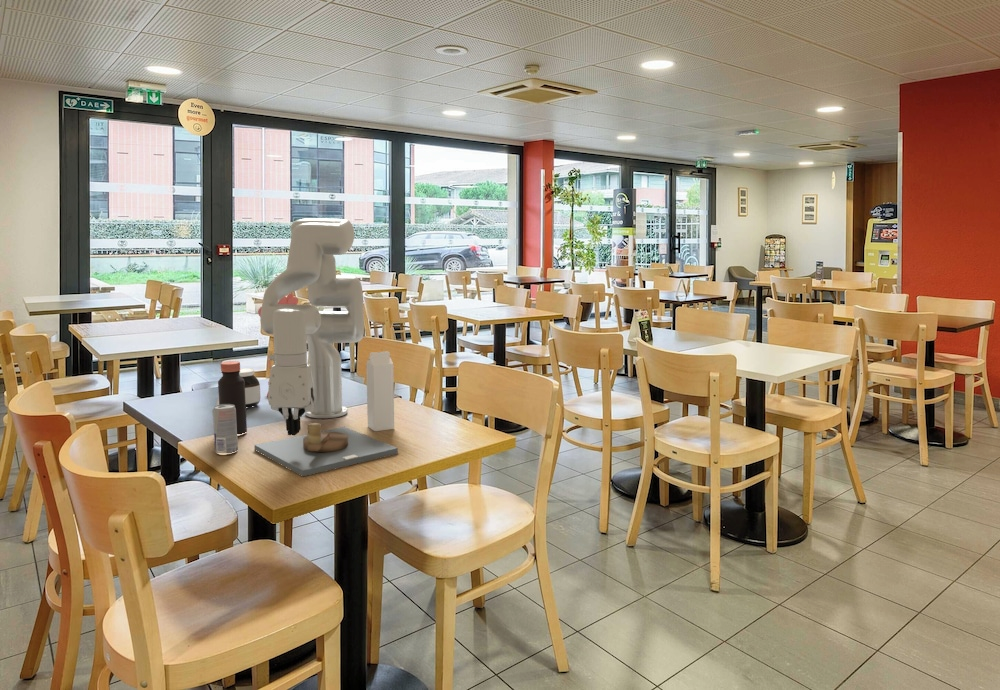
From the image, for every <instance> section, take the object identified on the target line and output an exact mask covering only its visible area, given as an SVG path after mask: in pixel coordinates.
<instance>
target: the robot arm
mask: <svg viewBox="0 0 1000 690" xmlns="http://www.w3.org/2000/svg"><path fill="white" fill-rule="evenodd" d="M290 225H291V226H290V232H291V233H290V234H291V237H290V238H291V239H290V244H289V250H288V258H287V264H286V269H285V270H283V271H282V272H281V273H280V274H279V275H277V276H276V277H275V278H274V279H273V280H272V281H271V282H270V283H269V285H268V286H267V288H266V290H265V291H264V293H263V296H262V303H261V307H262V308H261V316H259V319H260V326H261V329H262V331H264V332H265V334H268V335H271V336H272V335H273V353H272V354H269V356H268V360H269V359H270V361H273V365H271V370H270V371H269V379H268V382H269V385H268V392H267V393H268V396H267V397H268V398H267V399H268V404H269V406H270V409H271V410H273V411H275V412H279V413H280V414H281V415H282V416H283V418H284V420H285V428H286V429H285V430H286V431H287V436H293V437H296V436H297V434H299V433H300V431H301V417H302V416H303V415H304V414H305V416H307V417H309V418H312V419H333V418H334V419H335V418H338V417H342V416H343V417H344V416H345V415H347V414H348V411H349V410H348V408H347V407H346V406H343V386H342V382H343V381H342V357H341V354H340V352H339V350H338V349H337V348H336V347H335V345H334V344H336V343H337V344H343V343H344V344H345V343H346V344H350V343H351V344H355V343H359V342H360V341H361V340H363V338H364V335H365V334H364V333H365V317H364V316H365V315H364V293H363V286H362V283H361V280H360V279H359V278H358V277H356V276H353V275H338V274H337V267H336V266H337V265H336V264H337V263H336V258H335V257H336V256H334V255H338V256H340V255H344V254H346V253H347V252H348V251H349V250H350V249H351V248H352V247H353V243H354V242H355V240H354V239H355V229H354V226H353V224H352V222H351V221H350V220H348V219H345V218H344V219H342V218H341V219H340V218H302V219H301V218H300V219H295V220H294V221H293V222H292V223H291V224H290ZM306 287H307V289H306V290H307V291H306V292H307V298H308V301H309V304H297V305H295V304H278V302H279V301H280V300H281V299H282V298H283V297H284V296H286V297H287V296H288V295H289V294H290V293H293V292H296V291H298V290H300V289H303V288H306ZM318 308H344V309H346V310H347V311H344V310H342V311H337V310H331V311H330V310H322V311H321V310H320V311H319V309H318ZM307 351H308V352H307Z"/></svg>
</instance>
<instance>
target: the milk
mask: <svg viewBox="0 0 1000 690" xmlns="http://www.w3.org/2000/svg"><path fill="white" fill-rule="evenodd" d="M390 356H391V352H390V351H376V352H375V351H374V352H369V358H368V360H367V361H366V362H365V363H366V405H367V407H366V410H367V411H366V412H367V414H366V415H367V427H368V428H369V429H371V430H372V431H373V432H381V431H388V430H395V390H394V389H395V387H394V386H395V385H394V383H395V382H394V379H395V378H394V362H393V360H392V358H391V357H390Z"/></svg>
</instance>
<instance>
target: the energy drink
mask: <svg viewBox="0 0 1000 690" xmlns="http://www.w3.org/2000/svg"><path fill="white" fill-rule="evenodd" d="M212 419H213V437H214V453H215V452H217V453H232V452H235V451H237V450H239V449H238V448H239V447H238V436H237V423H236V408H235V405H233V404H221V405H217V404H216V405H213V409H212ZM237 452H238V451H237Z"/></svg>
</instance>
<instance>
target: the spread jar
mask: <svg viewBox="0 0 1000 690" xmlns="http://www.w3.org/2000/svg"><path fill="white" fill-rule="evenodd" d="M239 375H240V376H241V377H242V378H243V379H244V381H245V402H246V407H252V406H255V407H256V406H258V405H259V403H260V402H261V383H260V381H259V379H258V378H257V377H256V376H255V369H253V368H240V372H239ZM216 405H219V394H218V396H217V401H216ZM252 408H253V407H252Z"/></svg>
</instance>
